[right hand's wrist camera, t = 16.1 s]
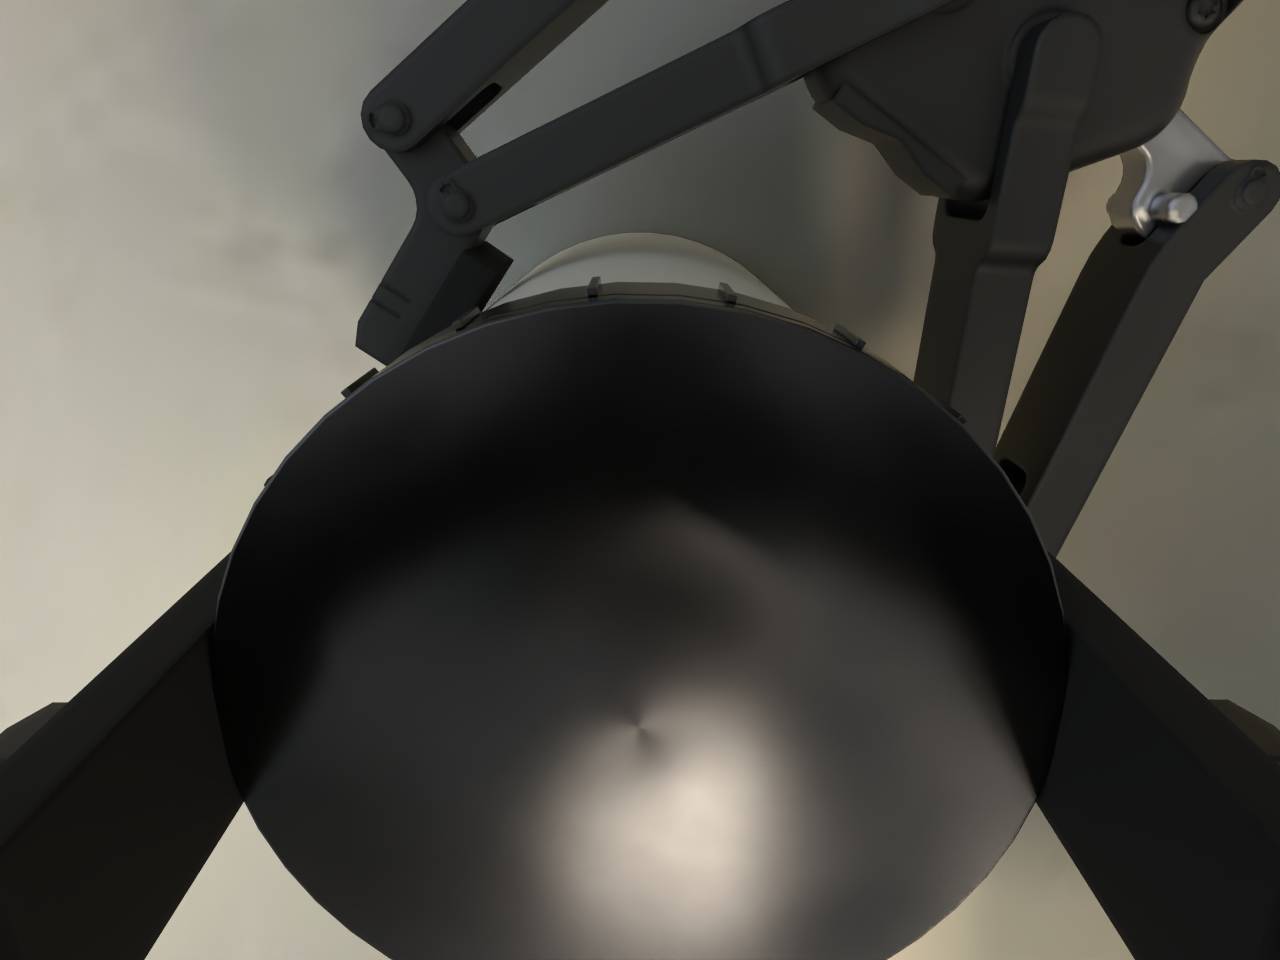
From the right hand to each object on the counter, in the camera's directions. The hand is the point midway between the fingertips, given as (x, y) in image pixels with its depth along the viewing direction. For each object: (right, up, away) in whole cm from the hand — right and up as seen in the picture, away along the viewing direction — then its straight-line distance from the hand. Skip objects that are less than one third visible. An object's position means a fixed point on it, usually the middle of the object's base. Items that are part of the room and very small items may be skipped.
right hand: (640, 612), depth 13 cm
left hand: (-2, -1, +7) cm, 8 cm away
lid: (0, -1, -2) cm, 3 cm away
